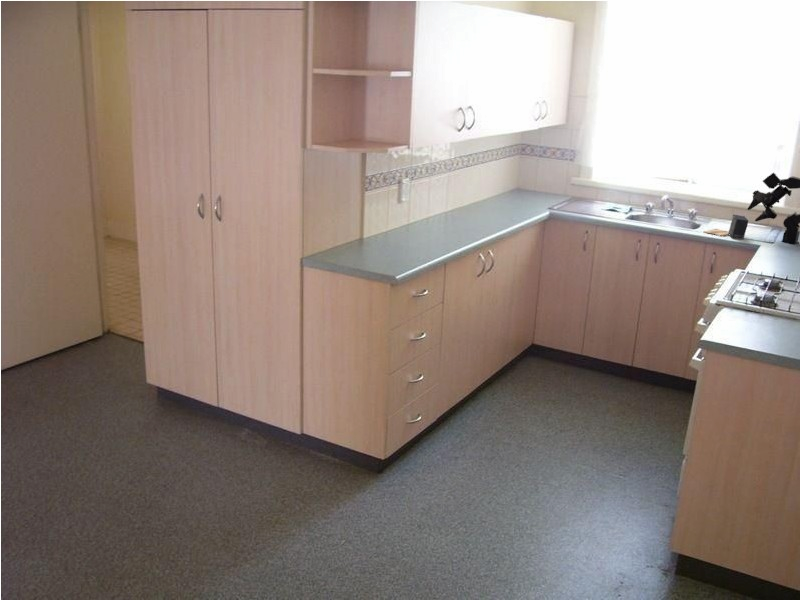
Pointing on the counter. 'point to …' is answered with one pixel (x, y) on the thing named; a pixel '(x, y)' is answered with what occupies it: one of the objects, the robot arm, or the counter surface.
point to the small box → (738, 226)
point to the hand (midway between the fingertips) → (751, 215)
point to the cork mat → (717, 232)
